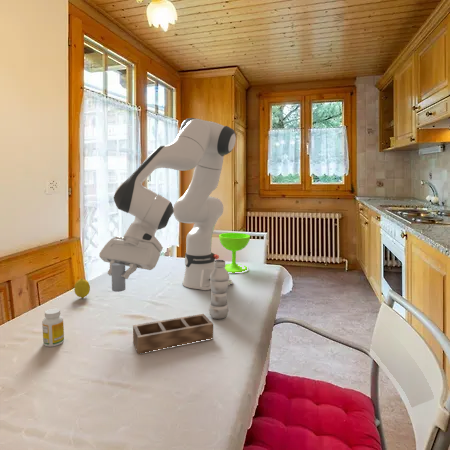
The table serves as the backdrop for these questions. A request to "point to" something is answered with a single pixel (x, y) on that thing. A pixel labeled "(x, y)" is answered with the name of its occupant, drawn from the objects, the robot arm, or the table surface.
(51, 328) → the supplement bottle
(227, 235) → the wineglass
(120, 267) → the slate peg
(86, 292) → the lemon
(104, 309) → the table surface
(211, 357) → the table surface
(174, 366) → the table surface
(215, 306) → the plastic bottle
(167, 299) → the table surface
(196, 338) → the walnut rack
